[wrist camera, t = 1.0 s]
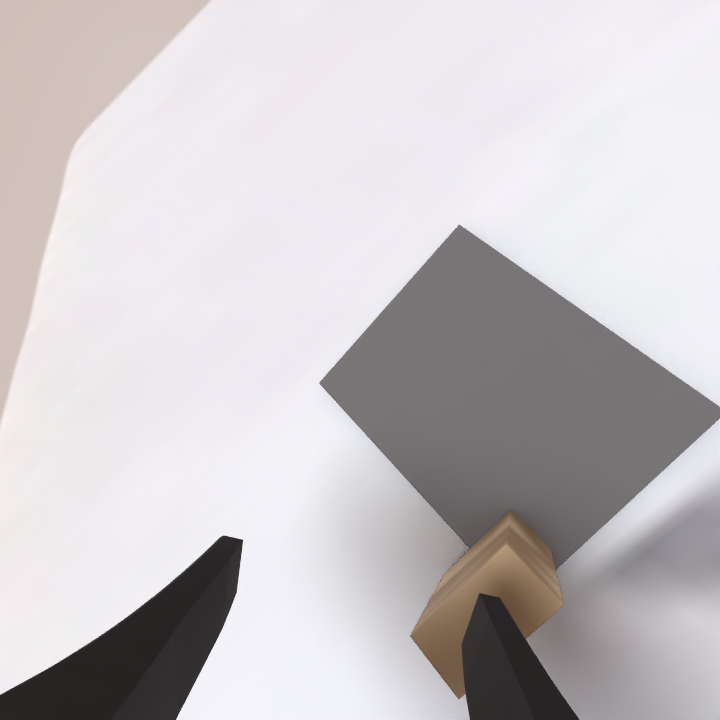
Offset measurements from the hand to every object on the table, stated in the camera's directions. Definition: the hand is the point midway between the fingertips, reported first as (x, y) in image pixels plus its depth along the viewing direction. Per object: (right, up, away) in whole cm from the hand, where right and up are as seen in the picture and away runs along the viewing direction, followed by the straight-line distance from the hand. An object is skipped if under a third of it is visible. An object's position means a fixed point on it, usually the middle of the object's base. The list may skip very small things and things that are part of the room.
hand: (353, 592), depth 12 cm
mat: (+7, +5, +10) cm, 14 cm away
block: (+7, -3, +8) cm, 12 cm away
